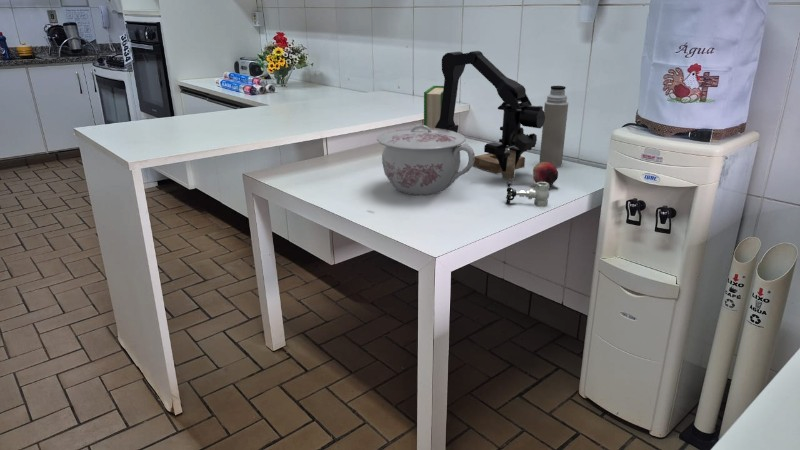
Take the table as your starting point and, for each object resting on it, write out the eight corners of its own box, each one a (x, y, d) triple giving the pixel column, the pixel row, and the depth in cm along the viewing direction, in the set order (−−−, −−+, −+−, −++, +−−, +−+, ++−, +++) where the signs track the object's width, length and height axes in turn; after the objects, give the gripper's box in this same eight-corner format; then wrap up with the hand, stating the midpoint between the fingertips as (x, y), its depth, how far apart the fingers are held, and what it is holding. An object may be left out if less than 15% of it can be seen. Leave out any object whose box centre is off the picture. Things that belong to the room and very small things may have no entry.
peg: (508, 180, 183) (510, 153, 180) (499, 177, 187) (501, 151, 183) (516, 177, 186) (518, 151, 182) (507, 175, 189) (509, 149, 185)
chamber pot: (367, 181, 183) (365, 119, 175) (442, 172, 192) (443, 113, 184) (396, 209, 159) (395, 138, 151) (480, 197, 168) (483, 130, 160)
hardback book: (442, 155, 213) (443, 92, 204) (423, 154, 215) (424, 92, 206) (450, 144, 229) (451, 86, 220) (432, 143, 231) (433, 85, 222)
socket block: (496, 173, 190) (497, 163, 189) (472, 166, 199) (473, 156, 198) (524, 166, 198) (525, 157, 196) (500, 159, 207) (500, 150, 205)
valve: (546, 201, 164) (506, 199, 166) (549, 180, 162) (507, 178, 163) (548, 209, 158) (506, 207, 160) (551, 187, 155) (508, 185, 157)
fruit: (547, 182, 181) (549, 158, 178) (561, 188, 175) (564, 164, 172) (527, 184, 179) (529, 160, 176) (541, 191, 172) (543, 167, 169)
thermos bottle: (537, 161, 205) (544, 84, 194) (559, 161, 204) (567, 84, 193) (540, 167, 197) (548, 87, 187) (563, 167, 196) (572, 87, 186)
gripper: (509, 132, 168) (506, 181, 174) (550, 124, 178) (545, 171, 184) (484, 126, 177) (481, 173, 182) (524, 119, 187) (520, 163, 192)
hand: (508, 170), depth 185 cm, fingers closed on peg, 4 cm apart
